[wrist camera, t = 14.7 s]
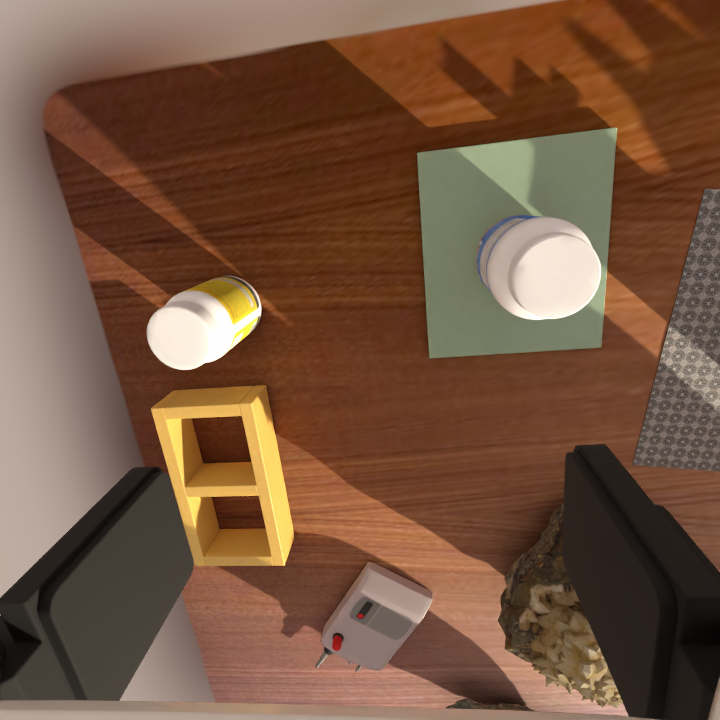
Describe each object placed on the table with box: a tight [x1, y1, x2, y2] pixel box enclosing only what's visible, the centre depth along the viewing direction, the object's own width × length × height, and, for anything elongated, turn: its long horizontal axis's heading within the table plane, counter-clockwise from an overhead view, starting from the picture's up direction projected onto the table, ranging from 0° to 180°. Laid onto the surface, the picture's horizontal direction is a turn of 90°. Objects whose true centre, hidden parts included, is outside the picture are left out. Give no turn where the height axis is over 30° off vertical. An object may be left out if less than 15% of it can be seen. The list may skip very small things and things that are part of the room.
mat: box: [417, 127, 617, 358], centre depth 30 cm, size 12×14×1 cm
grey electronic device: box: [316, 546, 433, 672], centre depth 42 cm, size 7×16×3 cm, turn 153°
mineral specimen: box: [498, 503, 623, 708], centre depth 34 cm, size 14×13×10 cm
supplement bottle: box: [147, 276, 261, 370], centre depth 30 cm, size 5×5×8 cm
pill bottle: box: [475, 215, 601, 320], centre depth 26 cm, size 6×5×10 cm
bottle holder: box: [151, 385, 295, 566], centre depth 37 cm, size 8×15×4 cm, turn 6°
